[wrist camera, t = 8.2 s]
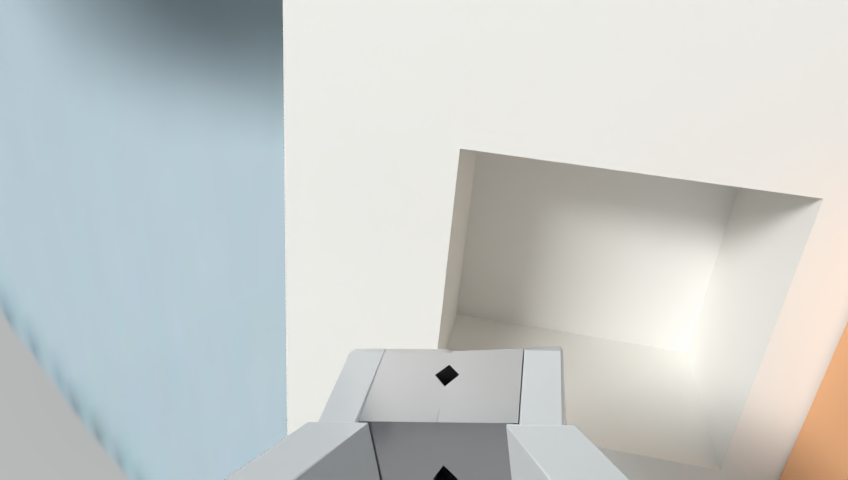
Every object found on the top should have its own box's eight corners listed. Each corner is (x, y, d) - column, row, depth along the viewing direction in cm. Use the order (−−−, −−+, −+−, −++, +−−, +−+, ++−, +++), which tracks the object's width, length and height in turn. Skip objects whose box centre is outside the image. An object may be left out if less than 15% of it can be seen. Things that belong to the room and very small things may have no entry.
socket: (356, 347, 21) (287, 494, 16) (376, -78, 16) (281, -71, 10) (906, 445, 19) (1039, 650, 14) (1143, -2, 14) (1512, 52, 8)
